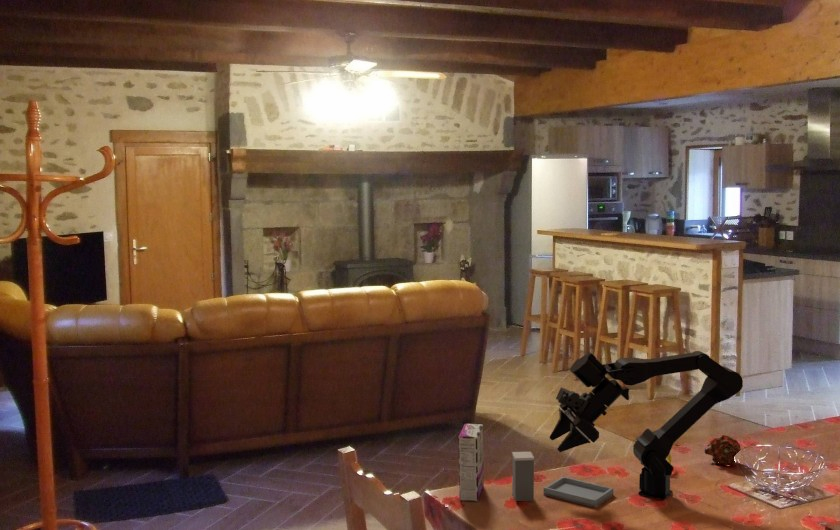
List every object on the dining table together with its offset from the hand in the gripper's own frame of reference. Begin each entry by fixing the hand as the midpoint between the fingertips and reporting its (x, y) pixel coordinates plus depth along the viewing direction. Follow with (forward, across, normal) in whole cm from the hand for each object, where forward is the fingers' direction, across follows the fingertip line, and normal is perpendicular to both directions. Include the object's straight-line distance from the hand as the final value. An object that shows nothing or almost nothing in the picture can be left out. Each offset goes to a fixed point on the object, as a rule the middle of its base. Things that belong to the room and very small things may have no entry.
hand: (554, 444), depth 199 cm
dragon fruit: (-27, -21, +46) cm, 57 cm away
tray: (+5, -1, +14) cm, 15 cm away
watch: (-14, -18, +33) cm, 40 cm away
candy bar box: (+24, -4, -5) cm, 25 cm away
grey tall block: (+15, 0, +4) cm, 15 cm away
